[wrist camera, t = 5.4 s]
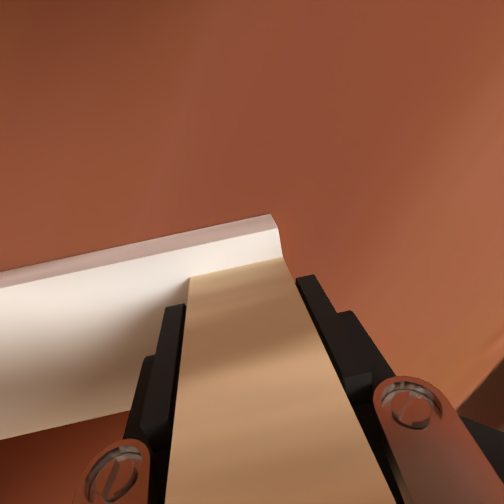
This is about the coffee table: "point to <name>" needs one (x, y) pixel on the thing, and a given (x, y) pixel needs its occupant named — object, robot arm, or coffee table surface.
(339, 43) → the coffee table surface
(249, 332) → the white-handled mallet
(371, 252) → the coffee table surface
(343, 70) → the coffee table surface
